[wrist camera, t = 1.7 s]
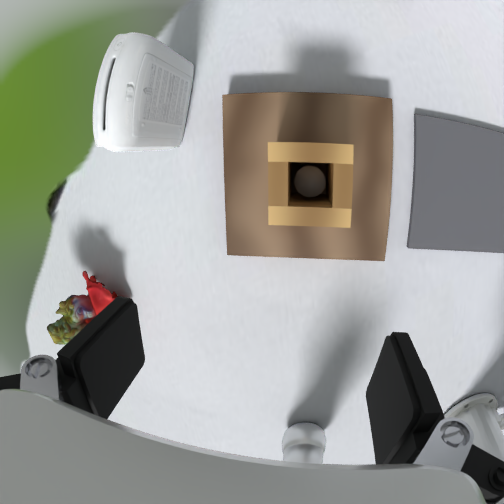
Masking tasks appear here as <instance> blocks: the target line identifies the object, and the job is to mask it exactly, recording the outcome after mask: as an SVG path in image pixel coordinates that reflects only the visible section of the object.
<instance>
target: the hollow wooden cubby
mask: <svg viewBox="0 0 504 504" xmlns="http://www.w3.org/2000/svg"><path fill="white" fill-rule="evenodd" d="M353 146H354V145H351V144H333V143H306V142H268V225H286V226H316V227H341V228H350V227H351V211H352V190H353ZM292 162H315V163H326V194H319V195H318V196H316V197H305V196H303V195H301V194H300V193H292Z"/></svg>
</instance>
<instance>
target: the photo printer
mask: <svg viewBox="0 0 504 504" xmlns="http://www.w3.org/2000/svg"><path fill="white" fill-rule="evenodd" d="M193 75H194V65H193V64H192V63H191V62H190V61H188V60H187V59H185V58H184V57H182V56H181V55H180V54H178V53H177V52H175V51H174V50H172V49H171V48H169V47H168V46H166V45H165V44H163V43H162V42H160V41H159V40H157V39H156V38H154V37H152V36H149V35H146V34H141V33H134V32H131V33H127V34H119V35H116V36H115V38H114V39H113V41H112V42H111V44H110V46H109V48H108V50H107V52H106V54H105V57H104V59H103V62H102V65H101V68H100V71H99V75H98V79H97V84H96V89H95V96H94V105H93V132H94V139H95V143H96V146H100V147H101V146H104V147H105V148H106V149H108V150H110V151H113V152H134V151H159V150H171V149H174V148H175V147H179V146H180V144H181V141H182V138H183V134H184V129H185V124H186V118H187V112H188V106H189V101H190V95H191V89H192V83H193Z"/></svg>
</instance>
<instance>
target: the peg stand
mask: <svg viewBox="0 0 504 504" xmlns="http://www.w3.org/2000/svg"><path fill="white" fill-rule="evenodd" d="M222 98H223V148H224V183H225V212H226V236H227V255H238V256H264V257H289V258H316V259H343V260H370V261H385V253H386V245H387V236H388V226H389V215H390V202H391V186H392V161H393V110H392V99H390V98H382V97H373V96H363V95H351V94H336V93H312V92H267V93H243V94H227V95H222ZM268 142H306V143H333V144H351V145H354V146H353V190H352V211H351V227H350V228H341V227H316V226H286V225H268ZM292 193H300V194H301V195H303V196H305V197H316V196H318V195H319V194H326V163H315V162H292Z"/></svg>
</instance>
